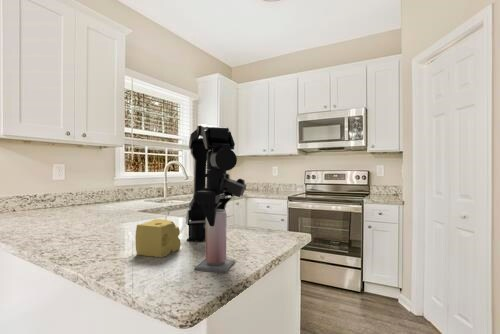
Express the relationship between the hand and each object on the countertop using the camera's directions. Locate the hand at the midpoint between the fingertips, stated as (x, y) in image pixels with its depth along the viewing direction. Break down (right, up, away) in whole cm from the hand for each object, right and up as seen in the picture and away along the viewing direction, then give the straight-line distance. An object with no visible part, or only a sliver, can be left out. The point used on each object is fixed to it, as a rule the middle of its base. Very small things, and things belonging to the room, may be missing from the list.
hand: (215, 223), depth 80 cm
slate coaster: (0, -12, 0) cm, 12 cm away
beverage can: (0, -11, 0) cm, 11 cm away
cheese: (-21, -12, +12) cm, 27 cm away
